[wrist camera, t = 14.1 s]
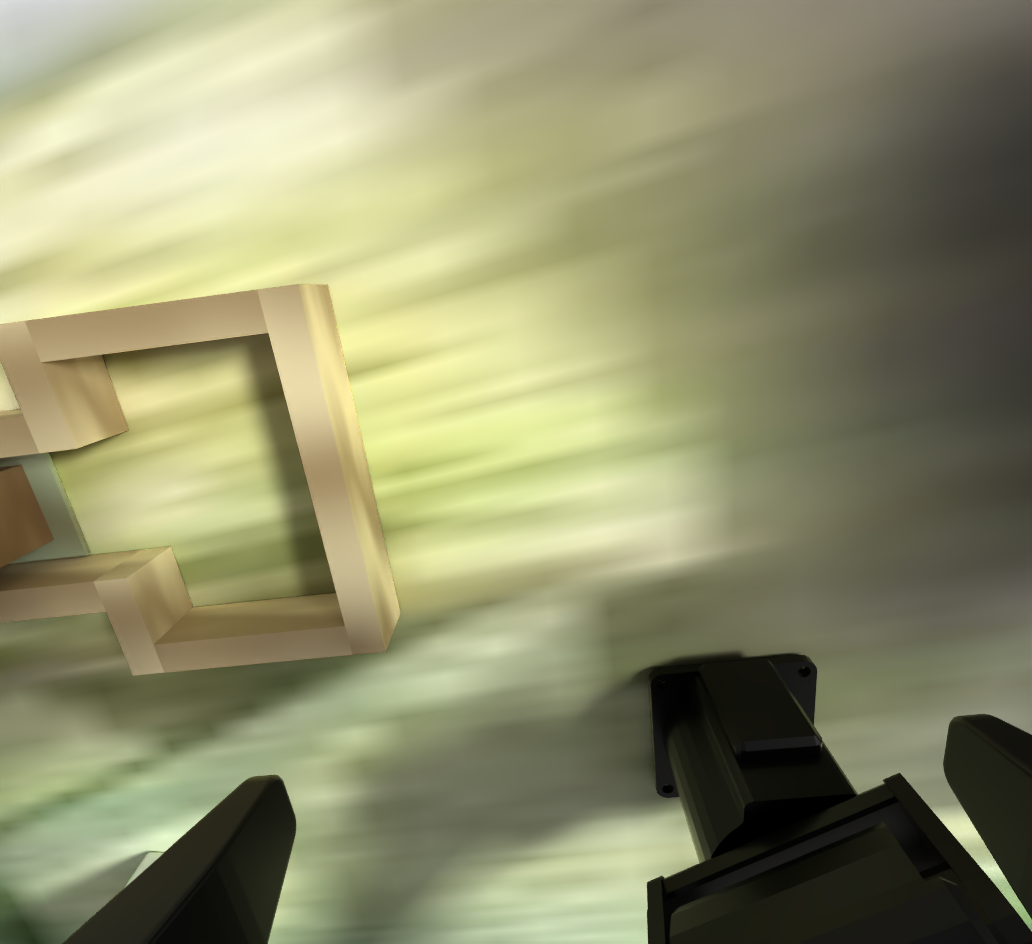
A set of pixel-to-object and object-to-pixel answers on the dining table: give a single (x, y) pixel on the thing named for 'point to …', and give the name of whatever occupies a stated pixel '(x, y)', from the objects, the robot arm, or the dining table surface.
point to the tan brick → (19, 516)
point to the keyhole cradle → (154, 572)
